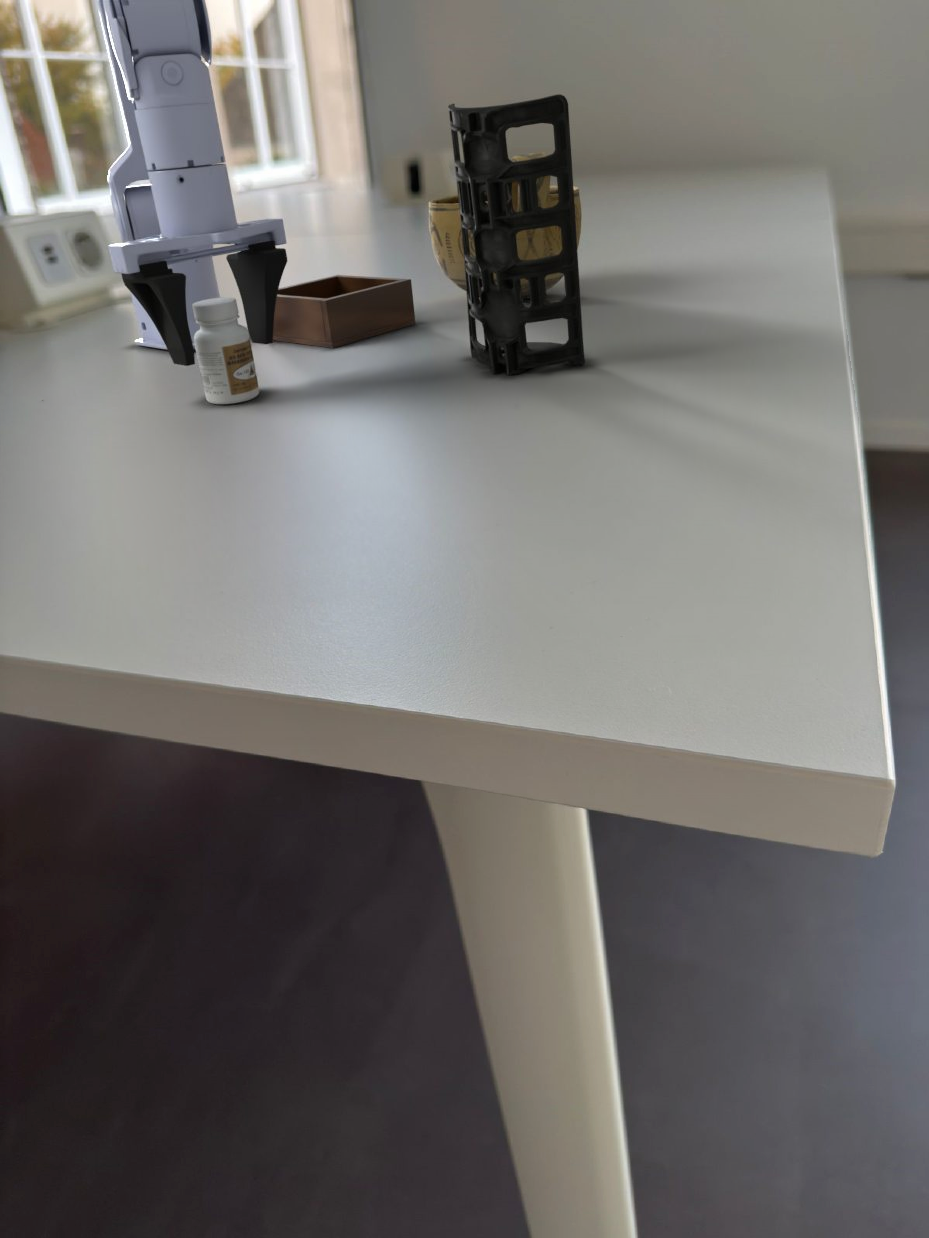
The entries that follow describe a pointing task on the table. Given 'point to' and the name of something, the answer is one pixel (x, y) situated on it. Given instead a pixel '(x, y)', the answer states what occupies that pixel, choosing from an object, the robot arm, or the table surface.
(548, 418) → the table surface
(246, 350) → the pill bottle
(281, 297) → the box
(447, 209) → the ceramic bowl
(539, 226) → the holder
